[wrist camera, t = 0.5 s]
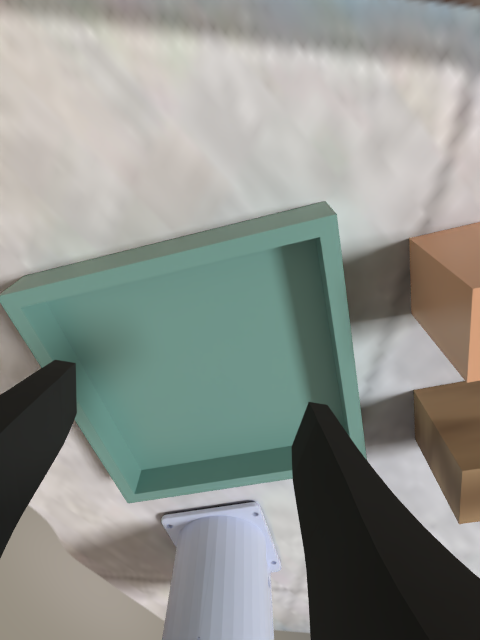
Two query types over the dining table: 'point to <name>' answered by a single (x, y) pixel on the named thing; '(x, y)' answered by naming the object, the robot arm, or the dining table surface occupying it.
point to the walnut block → (452, 442)
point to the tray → (201, 350)
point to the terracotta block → (449, 293)
